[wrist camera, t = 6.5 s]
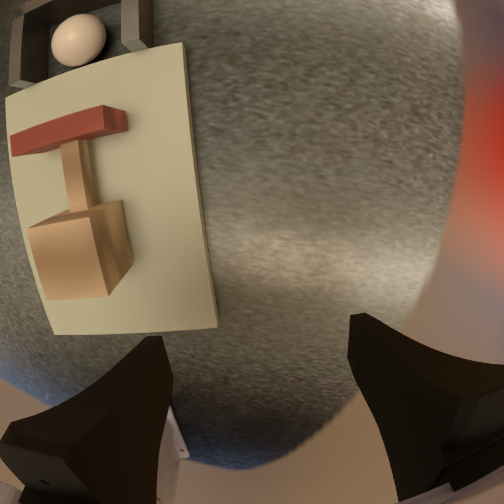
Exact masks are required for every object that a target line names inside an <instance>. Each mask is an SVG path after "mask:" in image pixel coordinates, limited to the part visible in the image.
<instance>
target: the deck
mask: <svg viewBox="0 0 504 504" xmlns="http://www.w3.org/2000/svg"><path fill="white" fill-rule="evenodd" d="M99 105H106V106H109V107H113V108H117V109H120V110H124V111H126V122H127V131H125V132H121V133H116V134H112V135H108V136H103V137H99V138H95V139H91V140H87V144H88V152H89V160H90V168H91V175H92V181H93V188H94V194H95V200H96V204H102V203H107V202H113V201H119V200H121V206H122V211H123V217H124V222H125V228H126V233H127V238H128V243H129V248H130V253H131V257H132V262H133V266H132V267H131V268H130V269H129V271H128V272H127V273H126V274H125V276H124V277H123V278H122V280H121V281H120V282H119V283H118V285H117V286H116V287H115V289H114V290H113V291H112V293H111V294H110V295H109V297H96V298H82V299H66V300H50V301H47V300H46V297H45V294H44V291H43V288H42V285H41V282H40V278H39V275H38V272H37V268H36V265H35V261H34V258H33V254H32V250H31V246H30V242H29V238H28V234H27V228H29V227H31V226H33V225H35V224H37V223H39V222H41V221H43V220H45V219H48V218H50V217H52V216H54V215H56V214H58V213H60V212H63V211H65V210H70V208H69V203H68V197H67V191H66V185H65V179H64V172H63V165H62V157H61V149H60V148H58V149H55V150H52V151H48V152H45V153H39V154H31V155H23V156H16V157H12V154H11V144H10V136H11V135H13V134H15V133H18V132H20V131H23V130H26V129H28V128H31V127H34V126H36V125H39V124H42V123H45V122H47V121H50V120H53V119H56V118H59V117H62V116H65V115H69V114H72V113H75V112H78V111H82V110H85V109H89V108H92V107H96V106H99ZM6 125H7V139H8V150H9V159H10V167H11V175H12V181H13V188H14V194H15V199H16V205H17V210H18V215H19V220H20V224H21V229H22V233H23V238H24V242H25V246H26V249H27V253H28V257H29V261H30V264H31V268H32V271H33V274H34V278H35V281H36V284H37V287H38V290H39V293H40V296H41V299H42V302H43V305H44V308H45V311H46V314H47V316H48V319H49V322H50V324H51V327H52V329H53V332H54V334H55V335H90V334H124V333H147V332H164V331H180V330H194V329H206V328H217V327H218V311H217V305H216V298H215V292H214V286H213V279H212V273H211V266H210V260H209V253H208V246H207V239H206V232H205V225H204V217H203V210H202V202H201V194H200V186H199V178H198V170H197V161H196V153H195V144H194V135H193V125H192V115H191V105H190V95H189V84H188V72H187V60H186V49H185V47H184V45H183V43H182V42H181V43H175V44H169V45H164V46H159V47H154V48H150V49H145V50H141V51H136V52H132V53H128V54H124V55H120V56H117V57H113V58H109V59H106V60H103V61H99V62H96V63H93V64H89V65H86V66H83V67H80V68H77V69H74V70H71V71H69V72H66V73H63V74H60V75H58V76H55V77H52V78H50V79H47V80H45V81H42V82H40V83H38V84H35V85H33V86H30V87H28V88H26V89H24V90H21V91H19V92H17V93H15V94H13V95H11V96H9V97H7V98H6Z"/></svg>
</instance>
